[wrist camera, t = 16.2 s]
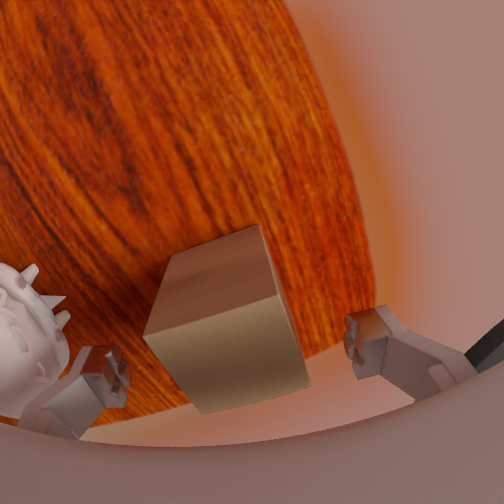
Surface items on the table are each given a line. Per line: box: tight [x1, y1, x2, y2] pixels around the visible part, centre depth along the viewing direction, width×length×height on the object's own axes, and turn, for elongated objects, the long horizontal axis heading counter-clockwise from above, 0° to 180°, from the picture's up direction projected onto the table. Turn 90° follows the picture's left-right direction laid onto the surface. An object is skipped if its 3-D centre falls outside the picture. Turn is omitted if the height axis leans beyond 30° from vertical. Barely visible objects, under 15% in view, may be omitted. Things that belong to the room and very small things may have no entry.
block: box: [143, 224, 312, 414], centre depth 12 cm, size 4×4×6 cm
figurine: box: [0, 263, 71, 419], centre depth 11 cm, size 12×8×10 cm
